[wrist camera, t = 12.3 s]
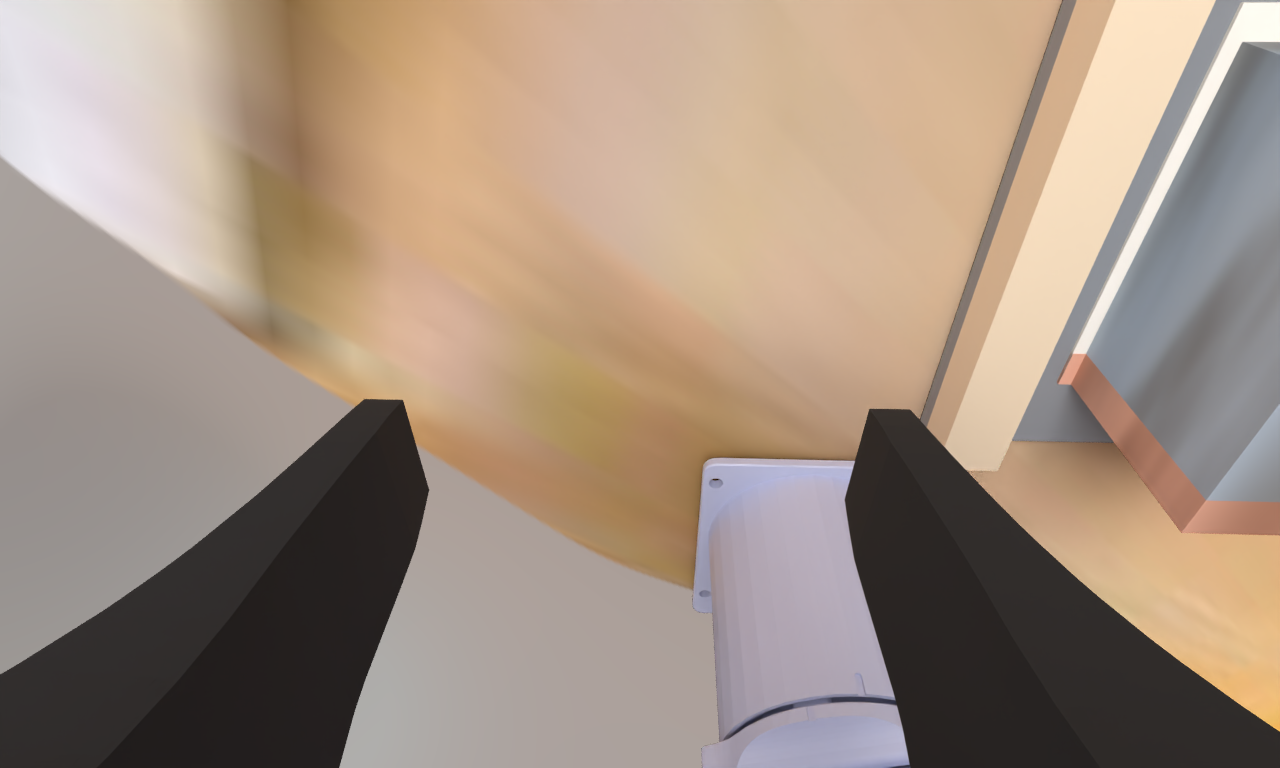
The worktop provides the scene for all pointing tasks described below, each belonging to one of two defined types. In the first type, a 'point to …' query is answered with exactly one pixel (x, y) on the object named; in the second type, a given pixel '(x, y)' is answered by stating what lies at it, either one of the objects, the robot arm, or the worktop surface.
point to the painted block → (1205, 322)
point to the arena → (1078, 212)
